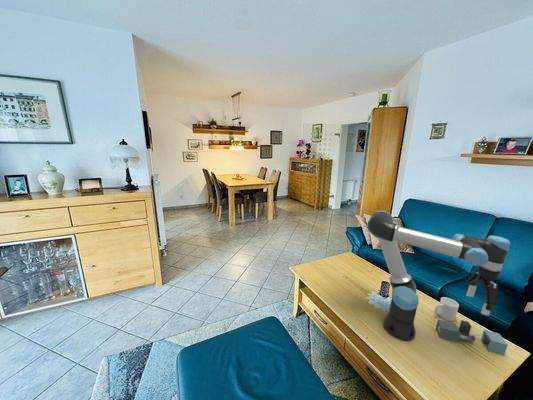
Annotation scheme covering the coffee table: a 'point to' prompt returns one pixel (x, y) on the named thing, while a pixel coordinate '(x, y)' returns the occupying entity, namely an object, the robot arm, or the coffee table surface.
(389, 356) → the coffee table surface
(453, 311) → the cup
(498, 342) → the socket
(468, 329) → the grey piece
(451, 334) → the grey metal block
